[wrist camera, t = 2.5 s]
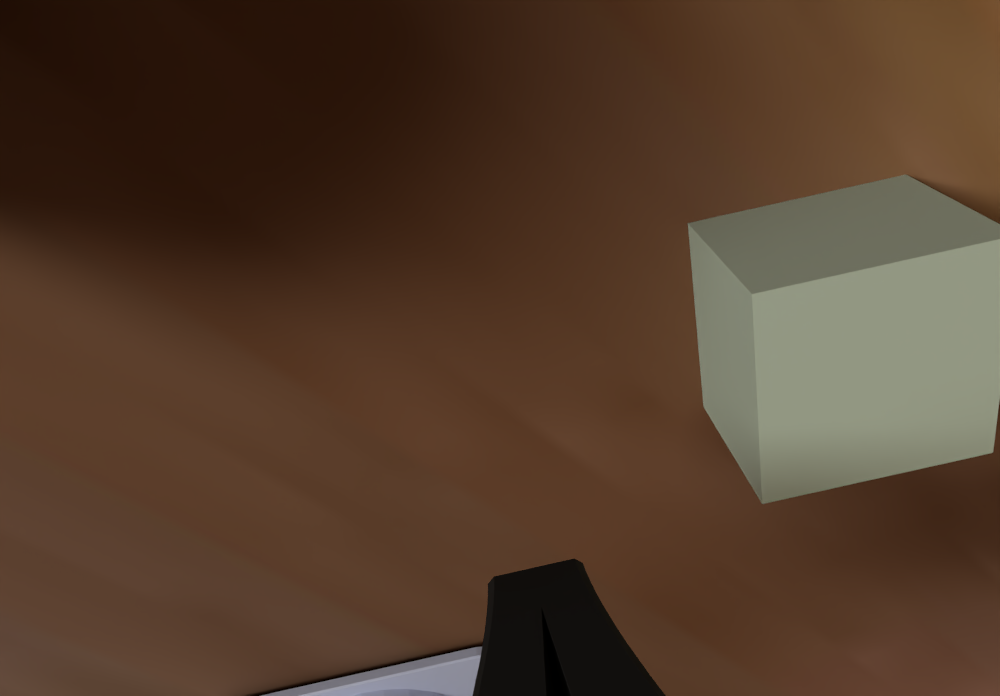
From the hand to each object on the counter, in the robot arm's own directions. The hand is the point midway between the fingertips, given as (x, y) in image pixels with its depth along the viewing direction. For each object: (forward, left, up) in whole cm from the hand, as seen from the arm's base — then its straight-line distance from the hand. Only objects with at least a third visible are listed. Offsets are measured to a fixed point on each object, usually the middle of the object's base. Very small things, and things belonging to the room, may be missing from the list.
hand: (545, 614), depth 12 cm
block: (0, -7, -8) cm, 11 cm away
